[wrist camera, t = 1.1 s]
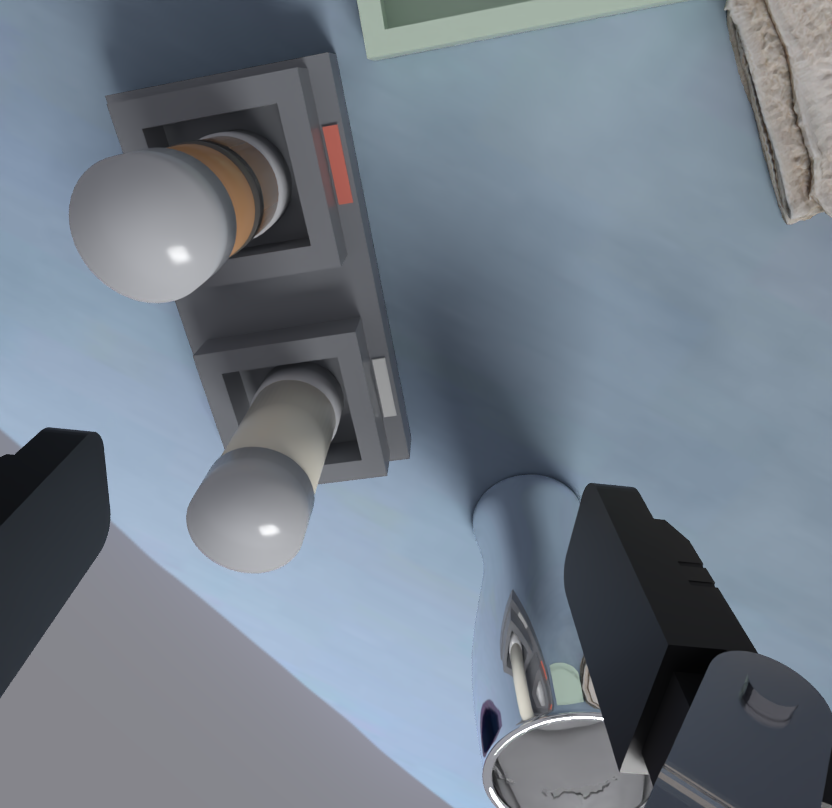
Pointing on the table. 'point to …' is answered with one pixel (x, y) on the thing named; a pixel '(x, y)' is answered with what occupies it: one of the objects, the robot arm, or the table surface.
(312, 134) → the fuse block
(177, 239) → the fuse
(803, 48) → the washcloth
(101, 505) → the robot arm
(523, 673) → the beer glass
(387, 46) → the parts tray
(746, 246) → the table surface
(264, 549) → the fuse
